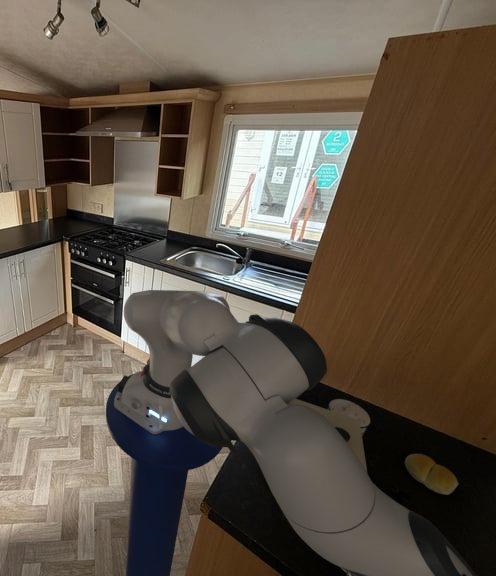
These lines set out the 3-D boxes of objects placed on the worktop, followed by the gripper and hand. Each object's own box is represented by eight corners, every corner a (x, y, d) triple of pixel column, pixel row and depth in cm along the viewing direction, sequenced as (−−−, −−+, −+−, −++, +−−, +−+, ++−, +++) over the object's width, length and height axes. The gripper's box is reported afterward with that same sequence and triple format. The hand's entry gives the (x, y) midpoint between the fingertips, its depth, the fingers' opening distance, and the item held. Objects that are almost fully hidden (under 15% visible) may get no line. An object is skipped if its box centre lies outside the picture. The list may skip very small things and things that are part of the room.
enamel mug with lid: (358, 457, 79) (375, 425, 74) (317, 438, 84) (330, 407, 79) (358, 425, 88) (374, 394, 83) (321, 410, 93) (333, 380, 88)
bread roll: (412, 454, 80) (419, 443, 78) (459, 485, 73) (467, 474, 71) (395, 467, 77) (402, 456, 75) (442, 501, 70) (451, 491, 68)
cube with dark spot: (336, 465, 77) (360, 417, 70) (339, 519, 66) (369, 469, 59) (274, 440, 84) (290, 394, 76) (268, 486, 73) (286, 437, 65)
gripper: (330, 578, 55) (328, 506, 66) (493, 668, 46) (459, 567, 57) (342, 560, 52) (337, 488, 63) (518, 652, 43) (478, 549, 54)
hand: (396, 526), depth 60 cm, fingers open, 8 cm apart
